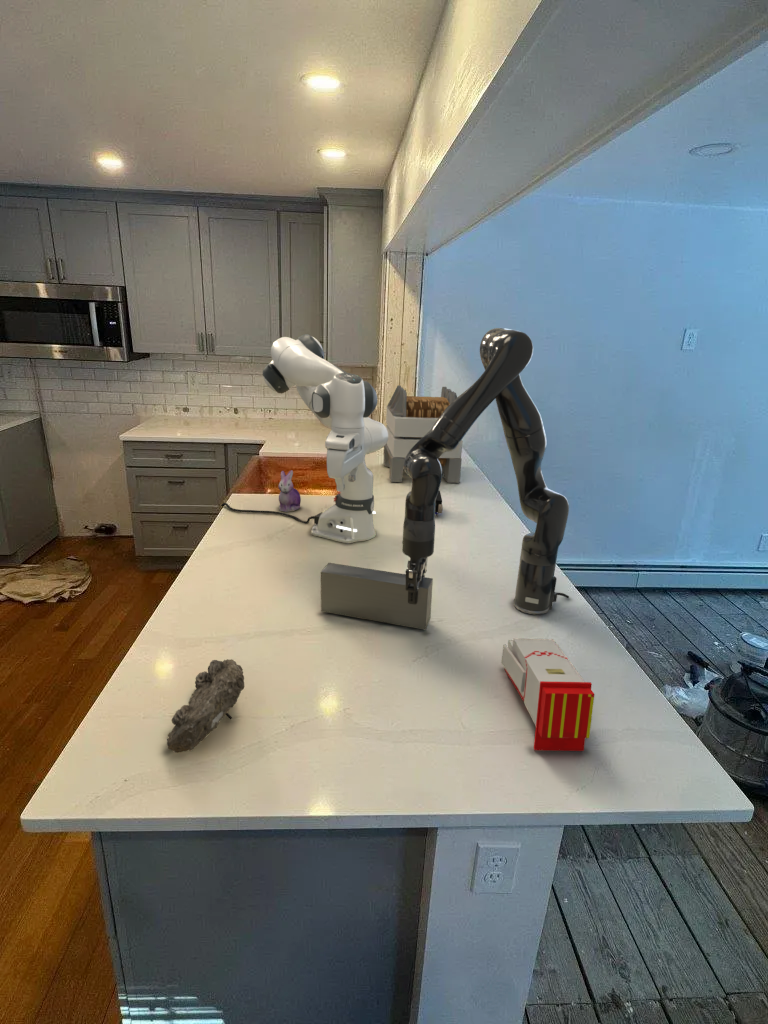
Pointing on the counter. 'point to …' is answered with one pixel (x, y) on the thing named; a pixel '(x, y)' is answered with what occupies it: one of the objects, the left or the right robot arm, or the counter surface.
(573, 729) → the toy
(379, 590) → the box
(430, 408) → the stacked crate on legs
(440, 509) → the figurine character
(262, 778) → the counter surface
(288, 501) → the figurine
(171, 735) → the fossil
